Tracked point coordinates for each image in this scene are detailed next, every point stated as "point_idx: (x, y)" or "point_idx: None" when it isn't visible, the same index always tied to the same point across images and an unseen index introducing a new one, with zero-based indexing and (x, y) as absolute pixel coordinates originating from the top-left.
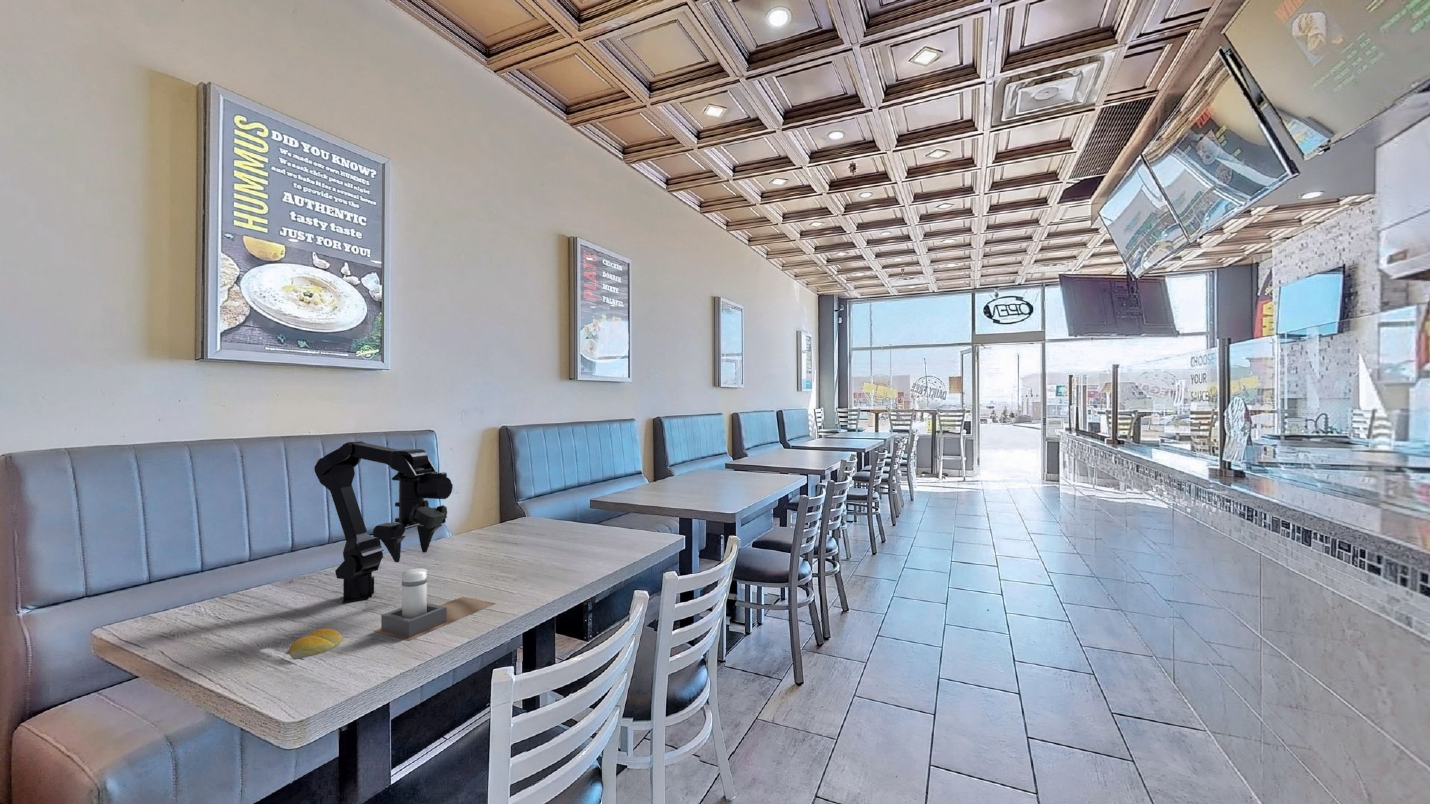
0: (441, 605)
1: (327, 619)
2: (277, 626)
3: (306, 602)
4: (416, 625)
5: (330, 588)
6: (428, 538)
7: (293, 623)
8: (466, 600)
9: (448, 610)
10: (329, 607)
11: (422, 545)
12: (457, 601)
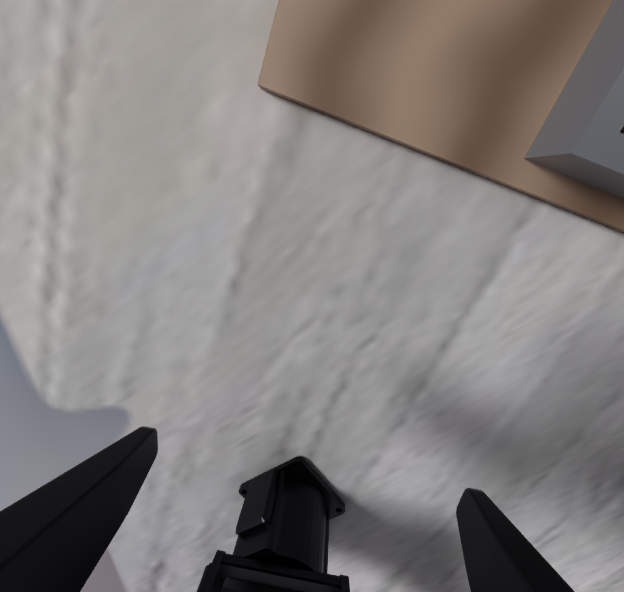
0: (390, 125)
1: (480, 474)
2: None
3: None
4: None
5: None
6: (14, 560)
7: None
8: (312, 17)
9: (466, 32)
10: (378, 518)
11: (114, 516)
12: (330, 67)
